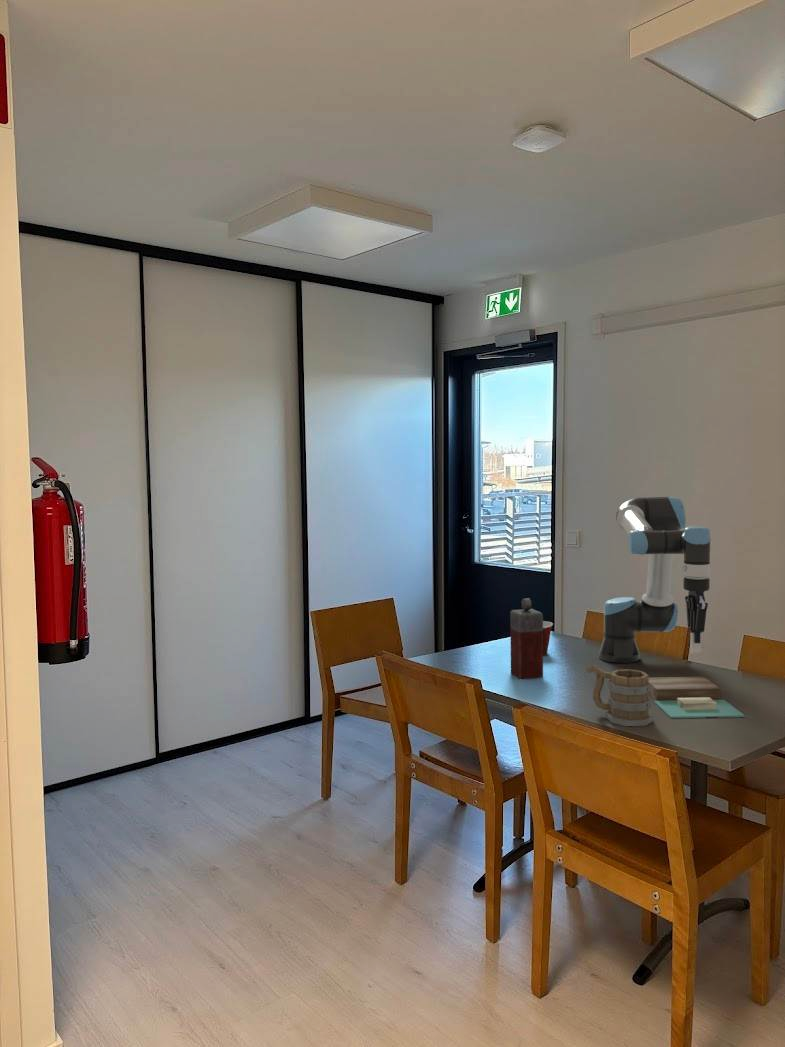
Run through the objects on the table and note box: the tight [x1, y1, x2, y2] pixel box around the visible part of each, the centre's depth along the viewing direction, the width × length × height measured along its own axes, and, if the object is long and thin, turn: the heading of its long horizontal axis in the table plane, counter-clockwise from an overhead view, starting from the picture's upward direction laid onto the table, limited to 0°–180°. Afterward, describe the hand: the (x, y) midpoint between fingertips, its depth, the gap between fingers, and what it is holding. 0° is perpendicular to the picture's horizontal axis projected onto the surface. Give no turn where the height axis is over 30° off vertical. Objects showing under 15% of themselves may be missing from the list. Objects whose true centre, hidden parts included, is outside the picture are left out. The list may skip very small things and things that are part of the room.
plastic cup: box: [543, 620, 554, 652], centre depth 327 cm, size 11×11×12 cm
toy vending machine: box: [509, 597, 548, 680], centre depth 294 cm, size 9×11×28 cm
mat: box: [653, 699, 746, 719], centre depth 252 cm, size 16×22×1 cm
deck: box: [648, 676, 721, 701], centre depth 267 cm, size 14×20×4 cm
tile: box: [677, 697, 717, 710], centre depth 253 cm, size 6×10×2 cm, turn 89°
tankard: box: [585, 664, 654, 727], centre depth 245 cm, size 20×13×15 cm, turn 48°
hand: (695, 652), depth 253 cm, fingers closed
